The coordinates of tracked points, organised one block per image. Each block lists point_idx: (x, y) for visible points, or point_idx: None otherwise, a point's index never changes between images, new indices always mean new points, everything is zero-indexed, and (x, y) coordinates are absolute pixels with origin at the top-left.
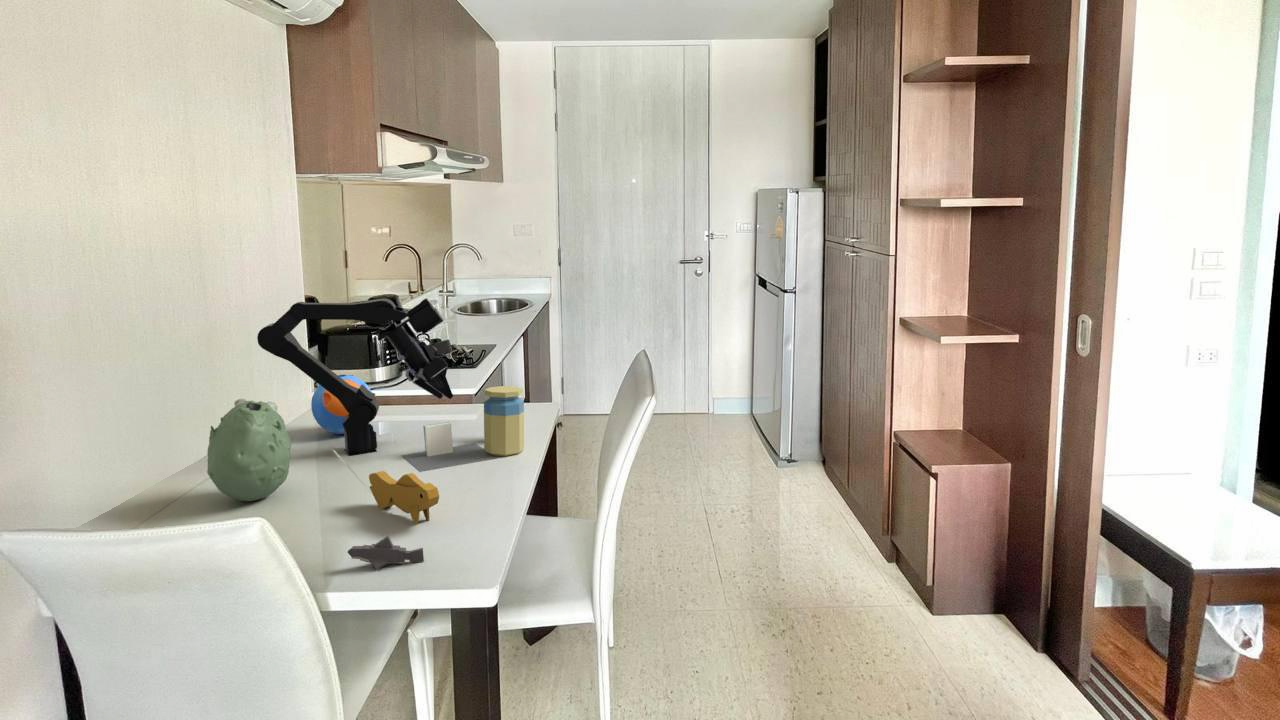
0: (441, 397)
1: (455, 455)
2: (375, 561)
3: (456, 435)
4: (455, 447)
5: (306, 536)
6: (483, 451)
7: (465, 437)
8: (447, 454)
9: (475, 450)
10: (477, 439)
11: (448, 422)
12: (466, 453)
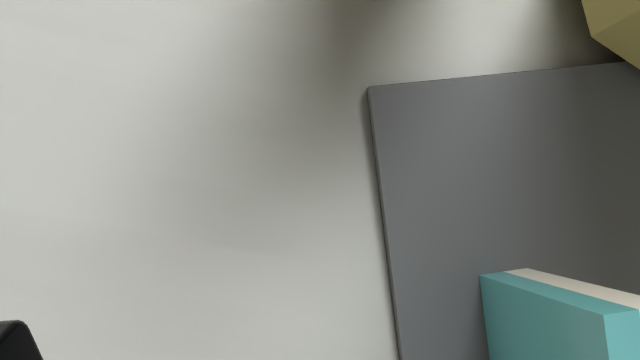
0: (34, 346)
1: (607, 267)
2: None
3: (22, 146)
4: (419, 230)
5: None
6: (600, 87)
7: (123, 98)
8: None
9: (554, 126)
10: (230, 35)
11: (634, 321)
12: (597, 194)
